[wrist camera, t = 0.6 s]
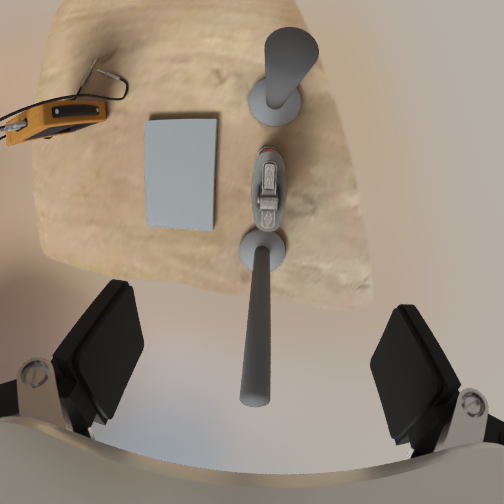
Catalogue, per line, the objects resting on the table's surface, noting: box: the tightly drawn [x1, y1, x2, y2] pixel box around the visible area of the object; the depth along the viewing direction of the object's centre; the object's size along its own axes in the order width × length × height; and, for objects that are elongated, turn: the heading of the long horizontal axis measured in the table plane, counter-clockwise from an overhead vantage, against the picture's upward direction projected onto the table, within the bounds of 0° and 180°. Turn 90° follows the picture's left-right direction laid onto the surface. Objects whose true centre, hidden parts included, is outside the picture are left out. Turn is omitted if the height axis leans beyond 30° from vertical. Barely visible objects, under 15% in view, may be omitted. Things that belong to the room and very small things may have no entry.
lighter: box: [251, 146, 287, 232], centre depth 28 cm, size 8×3×10 cm, turn 179°
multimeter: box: [0, 58, 128, 146], centre depth 19 cm, size 15×10×20 cm
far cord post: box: [239, 229, 285, 407], centre depth 27 cm, size 6×6×23 cm
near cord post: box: [248, 27, 319, 126], centre depth 18 cm, size 6×6×23 cm
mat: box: [145, 119, 218, 231], centre depth 32 cm, size 14×9×1 cm, turn 176°
